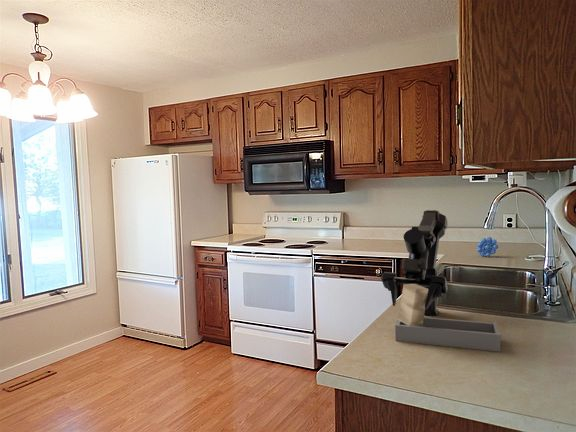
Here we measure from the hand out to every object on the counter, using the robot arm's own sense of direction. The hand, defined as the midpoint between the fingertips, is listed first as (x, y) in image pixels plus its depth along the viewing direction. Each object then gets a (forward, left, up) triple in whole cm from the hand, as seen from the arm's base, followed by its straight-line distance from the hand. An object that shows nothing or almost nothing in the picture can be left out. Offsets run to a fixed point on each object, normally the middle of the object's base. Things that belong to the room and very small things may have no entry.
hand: (409, 307), depth 121 cm
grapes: (-148, +30, -9) cm, 152 cm away
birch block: (-2, 0, -5) cm, 5 cm away
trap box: (-1, +10, -9) cm, 13 cm away
